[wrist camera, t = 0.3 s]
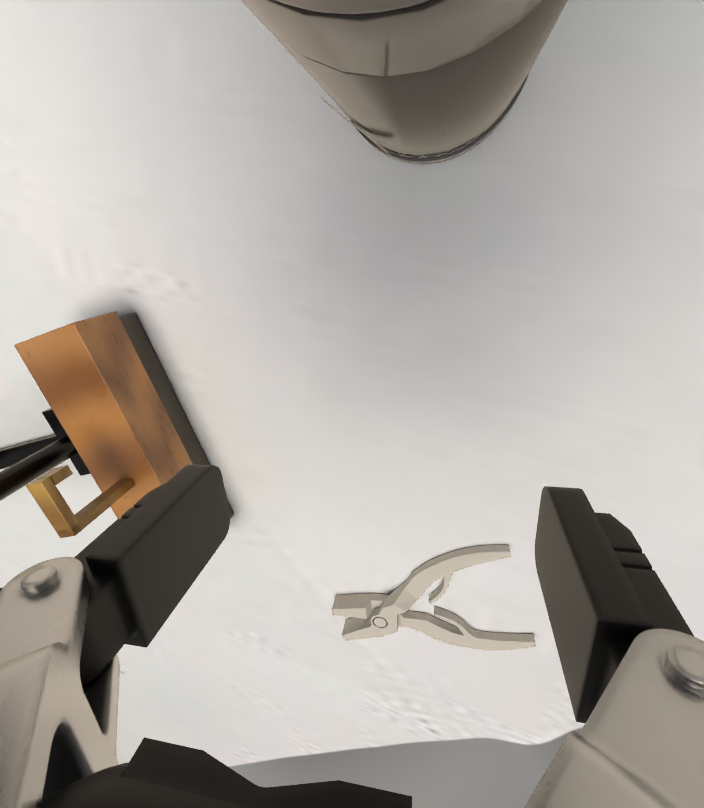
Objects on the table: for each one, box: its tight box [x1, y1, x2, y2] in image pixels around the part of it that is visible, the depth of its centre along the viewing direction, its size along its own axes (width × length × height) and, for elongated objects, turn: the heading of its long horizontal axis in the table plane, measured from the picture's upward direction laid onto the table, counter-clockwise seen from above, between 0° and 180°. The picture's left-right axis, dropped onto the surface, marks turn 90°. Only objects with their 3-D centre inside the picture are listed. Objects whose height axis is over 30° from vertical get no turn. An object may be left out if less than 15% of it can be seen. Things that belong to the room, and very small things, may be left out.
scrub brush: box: [14, 312, 234, 538], centre depth 28 cm, size 18×5×11 cm, turn 18°
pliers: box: [332, 545, 536, 650], centre depth 33 cm, size 10×2×15 cm
